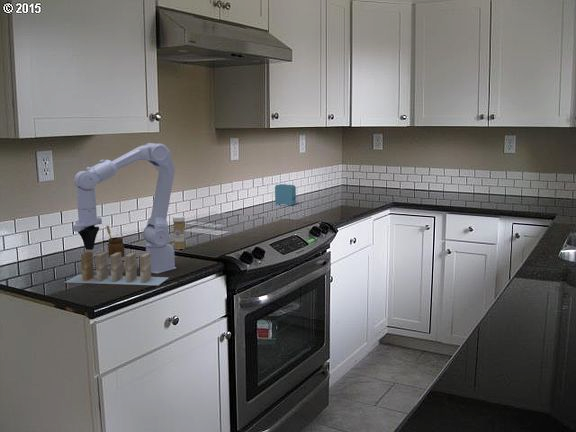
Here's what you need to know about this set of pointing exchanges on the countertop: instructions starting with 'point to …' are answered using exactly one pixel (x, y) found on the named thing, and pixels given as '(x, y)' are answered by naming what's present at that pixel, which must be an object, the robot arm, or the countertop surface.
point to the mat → (122, 281)
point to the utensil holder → (115, 244)
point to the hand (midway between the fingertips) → (89, 249)
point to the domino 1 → (87, 266)
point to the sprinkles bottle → (179, 232)
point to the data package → (285, 194)
